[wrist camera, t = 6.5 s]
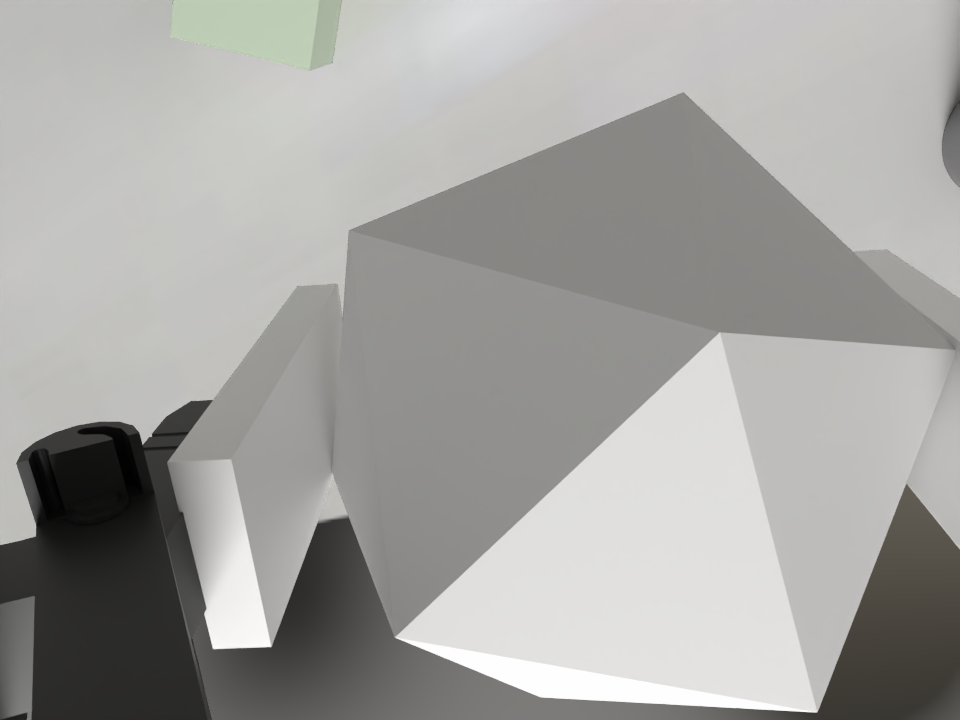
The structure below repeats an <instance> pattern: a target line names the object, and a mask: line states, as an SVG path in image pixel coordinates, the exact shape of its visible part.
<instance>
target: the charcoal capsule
mask: <svg viewBox="0 0 960 720" xmlns="http://www.w3.org/2000/svg"><path fill="white" fill-rule="evenodd" d="M942 156H943V161H944V165H945V168H946V170H947V172H948V174H949V176H950V177H951V179H952V180H953V181H954V182H955V184H956V185H958V186H959V187H960V102H959V103H958V104H957V106H956V107H955V108H954V110H953V112H952V114H951V115H950V117H949V120H948V122H947V124H946V127H945V130H944V134H943V140H942Z"/></svg>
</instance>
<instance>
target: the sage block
mask: <svg viewBox="0 0 960 720" xmlns="http://www.w3.org/2000/svg"><path fill="white" fill-rule="evenodd" d="M341 3H342V0H173V10H172V23H171V36H170V37H172V38H176V39H180V40H185V41H189V42H193V43H197V44H201V45H205V46H210V47H214V48H218V49H222V50H226V51H230V52H234V53H239V54H243V55H247V56H251V57H255V58H259V59H264V60H268V61H272V62H276V63H280V64H284V65H288V66H293V67H297V68H301V69H305V70H309V71H310V70H313V69H316V68H319V67H322V66H325V65H328V64H331V63H333V56H334V49H335V43H336V36H337V29H338V23H339V16H340V9H341Z"/></svg>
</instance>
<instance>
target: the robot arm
mask: <svg viewBox="0 0 960 720" xmlns="http://www.w3.org/2000/svg"><path fill="white" fill-rule="evenodd" d="M854 253H855V254H856V255H857V256H858V257H859V258H860V259H861V260H862V261H863V262H864V263H865V264H867V265H868V266H869V267H870V268H871V269H872V270H873V271H874V272H875V273H876V274H877V275H878V276H879V277H880V278H881V279H883V280H884V281H885V282H886V283H887V284H888V285H889V286H890V287H891V288H892V289H893V290H894V291H895V292H896V293H897V294H898V295H900V296H901V297H902V298H903V299H904V300H905V301H906V302H907V303H908V304H909V305H910V306H911V307H912V308H913V309H914V310H915V311H917V312H918V313H919V314H920V315H921V316H922V317H923V318H924V319H925V320H926V321H927V322H928V323H929V324H930V325H931V326H933V327H934V328H935V329H936V330H937V331H938V332H939V333H940V334H941V335H942V336H943V337H944V338H945V339H946V340H947V341H948V342H950V343H951V344H952V345H953V346H954V348H955V350H956V353H955V358H954V361H953V363H952V366H951V369H950V371H949V374H948V376H947V379H946V382H945V384H944V387H943V389H942V392H941V394H940V397H939V400H938V402H937V405H936V407H935V410H934V413H933V415H932V418H931V420H930V423H929V425H928V428H927V431H926V433H925V436H924V438H923V441H922V443H921V446H920V449H919V451H918V454H917V456H916V459H915V462H914V464H913V467H912V469H911V472H910V474H909V477H908V480H907V482H906V484H907V485H908V486H909V487H910V488H911V490H912V491H913V492H914V493H915V495H916V496H917V497H918V498H919V499H920V501H921V502H922V503H923V504H924V505H925V507H926V508H927V509H928V510H929V512H930V513H931V514H932V516H933V517H934V518H935V519H936V520H937V522H938V523H939V524H940V525H941V527H942V528H943V529H944V530H945V531H946V533H947V534H948V535H949V536H950V538H951V539H952V540H953V541H954V543H955V544H956V545H957V546H958V548H959V549H960V298H958V297H957V296H955V295H954V294H952V293H951V292H949V291H948V290H946V289H945V288H943V287H942V286H940V285H939V284H937V283H936V282H934V281H933V280H931V279H930V278H928V277H927V276H925V275H924V274H923V273H921V272H920V271H918V270H917V269H915V268H914V267H912V266H911V265H909V264H908V263H906V262H905V261H903V260H902V259H900V258H899V257H897V256H896V255H894V254H893V253H891V252H890V251H888V250H887V249H886V250H870V251H854ZM342 320H343V317H342V311H341V304H340V297H339V290H338V284H327V285H312V286H297V288H296V289H295V290H294V292H293V293H292V294H291V296H290V297H289V298H288V300H287V301H286V302H285V304H284V305H283V306H282V308H281V309H280V311H279V312H278V313H277V315H276V316H275V317H274V319H273V320H272V321H271V323H270V324H269V325H268V327H267V328H266V329H265V331H264V332H263V334H262V335H261V336H260V338H259V339H258V340H257V342H256V343H255V344H254V346H253V347H252V348H251V350H250V351H249V352H248V354H247V355H246V356H245V358H244V359H243V361H242V362H241V363H240V365H239V366H238V367H237V369H236V370H235V371H234V373H233V374H232V375H231V377H230V378H229V379H228V381H227V382H226V383H225V385H224V386H223V388H222V389H221V390H220V392H219V393H218V394H217V396H216V397H215V398H214V400H207V401H191V402H189V403H188V404H186V405H184V406H183V407H181V408H180V409H178V410H176V411H175V412H173V413H172V414H170V415H168V416H167V417H166V418H165V419H164V420H163V421H162V422H161V424H160V425H159V426H158V427H157V429H156V430H155V431H154V432H153V433H152V437H149V438H148V439H147V441H146V442H145V443H144V444H143V445H142V442H141V438H140V434H139V432H138V431H137V430H136V428H135V427H134V426H133V425H129V424H125V423H122V422H96V423H90V424H84V425H78V426H75V427H71V428H68V429H65V430H62V431H58V432H55V433H53V434H51V435H49V436H47V437H45V438H43V439H41V440H39V441H37V442H35V443H34V444H32V445H31V446H30V447H28V448H27V449H26V450H25V451H23V452H22V453H21V455H20V457H19V459H18V461H17V463H16V464H17V467H18V470H19V473H20V476H21V479H22V482H23V485H24V488H25V491H26V495H27V498H28V501H29V504H30V507H31V510H32V513H33V516H34V519H35V522H36V537H33V538H29V539H26V540H22V541H18V542H13V543H9V544H4V545H0V720H26V719H27V713H28V712H31V711H32V720H212V717H211V713H210V709H209V705H208V701H207V697H206V692H205V688H204V684H203V680H202V675H201V671H200V667H199V663H198V659H197V655H196V651H195V648H194V644H193V640H192V637H193V635H194V633H195V631H196V629H197V627H198V625H199V623H200V621H201V618H202V617H203V615H204V614H205V618H206V622H207V626H208V630H209V634H210V638H211V642H212V646H213V649H225V648H251V647H271V646H272V644H273V641H274V638H275V636H276V633H277V630H278V627H279V625H280V622H281V619H282V617H283V614H284V611H285V609H286V606H287V603H288V600H289V598H290V595H291V592H292V590H293V587H294V584H295V582H296V579H297V576H298V573H299V571H300V568H301V565H302V563H303V560H304V557H305V554H306V551H307V549H308V546H309V544H310V541H311V538H312V535H313V533H314V530H315V527H316V525H317V522H318V519H319V517H320V514H321V511H322V508H323V506H324V503H325V500H326V498H327V495H328V492H329V489H330V487H331V484H332V481H333V479H334V476H333V474H332V459H333V445H334V431H335V417H336V403H337V389H338V375H339V362H340V348H341V334H342Z"/></svg>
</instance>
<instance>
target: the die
mask: <svg viewBox="0 0 960 720" xmlns="http://www.w3.org/2000/svg"><path fill="white" fill-rule="evenodd" d="M955 353H956V350H955V348H954V346H953V345H952V344H951V343H950V342H948V341H947V340H946V339H945V338H944V337H943V336H942V335H941V334H940V333H939V332H938V331H937V330H936V329H935V328H934V327H933V326H931V325H930V324H929V323H928V322H927V321H926V320H925V319H924V318H923V317H922V316H921V315H920V314H919V313H918V312H917V311H915V310H914V309H913V308H912V307H911V306H910V305H909V304H908V303H907V302H906V301H905V300H904V299H903V298H902V297H901V296H900V295H898V294H897V293H896V292H895V291H894V290H893V289H892V288H891V287H890V286H889V285H888V284H887V283H886V282H885V281H884V280H883V279H881V278H880V277H879V276H878V275H877V274H876V273H875V272H874V271H873V270H872V269H871V268H870V267H869V266H868V265H867V264H865V263H864V262H863V261H862V260H861V259H860V258H859V257H858V256H857V255H856V254H855V253H854V252H853V251H852V250H851V249H850V248H848V247H847V246H846V245H845V244H844V243H843V242H842V241H841V240H840V239H839V238H838V237H837V236H836V235H835V234H834V233H833V232H831V231H830V230H829V229H828V228H827V227H826V226H825V225H824V224H823V223H822V222H821V221H820V220H819V219H818V218H817V217H815V216H814V215H813V214H812V213H811V212H810V211H809V210H808V209H807V208H806V207H805V206H804V205H803V204H802V203H801V202H800V201H798V200H797V199H796V198H795V197H794V196H793V195H792V194H791V193H790V192H789V191H788V190H787V189H786V188H785V187H784V186H783V185H781V184H780V183H779V182H778V181H777V180H776V179H775V178H774V177H773V176H772V175H771V174H770V173H769V172H768V171H767V170H765V169H764V168H763V167H762V166H761V165H760V164H759V163H758V162H757V161H756V160H755V159H754V158H753V157H752V156H751V155H750V154H748V153H747V152H746V151H745V150H744V149H743V148H742V147H741V146H740V145H739V144H738V143H737V142H736V141H735V140H734V139H733V138H731V137H730V136H729V135H728V134H727V133H726V132H725V131H724V130H723V129H722V128H721V127H720V126H719V125H718V124H717V123H715V122H714V121H713V120H712V119H711V118H710V117H709V116H708V115H707V114H706V113H705V112H704V111H703V110H702V109H701V108H700V107H698V106H697V105H696V104H695V103H694V102H693V101H692V100H691V99H690V98H689V97H688V96H687V95H686V94H685V93H684V92H683V93H681V94H678V95H676V96H674V97H671V98H669V99H666V100H664V101H661V102H659V103H657V104H654V105H652V106H649V107H647V108H644V109H642V110H640V111H637V112H635V113H632V114H630V115H627V116H625V117H623V118H620V119H618V120H615V121H613V122H610V123H608V124H606V125H603V126H601V127H598V128H596V129H594V130H591V131H589V132H586V133H584V134H581V135H579V136H577V137H574V138H572V139H569V140H567V141H564V142H562V143H560V144H557V145H555V146H552V147H550V148H547V149H545V150H543V151H540V152H538V153H535V154H533V155H531V156H528V157H526V158H523V159H521V160H518V161H516V162H514V163H511V164H509V165H506V166H504V167H501V168H499V169H497V170H494V171H492V172H489V173H487V174H484V175H482V176H480V177H477V178H475V179H472V180H470V181H468V182H465V183H463V184H460V185H458V186H455V187H453V188H451V189H448V190H446V191H443V192H441V193H438V194H436V195H434V196H431V197H429V198H426V199H424V200H421V201H419V202H417V203H414V204H412V205H409V206H407V207H405V208H402V209H400V210H397V211H395V212H392V213H390V214H388V215H385V216H383V217H380V218H378V219H375V220H373V221H371V222H368V223H366V224H363V225H361V226H358V227H356V228H354V229H351V230H349V236H348V250H347V264H346V278H345V292H344V306H343V320H342V334H341V348H340V362H339V375H338V389H337V403H336V417H335V431H334V445H333V459H332V474H333V476H334V479H335V482H336V484H337V487H338V490H339V492H340V495H341V497H342V500H343V503H344V505H345V508H346V511H347V513H348V516H349V518H350V521H351V524H352V526H353V529H354V531H355V534H356V537H357V539H358V542H359V545H360V547H361V550H362V552H363V555H364V557H365V560H366V563H367V565H368V568H369V571H370V573H371V576H372V578H373V581H374V584H375V586H376V589H377V592H378V594H379V597H380V599H381V602H382V605H383V607H384V610H385V613H386V615H387V618H388V621H389V623H390V626H391V628H392V631H393V634H394V636H395V638H398V639H400V640H402V641H405V642H407V643H410V644H412V645H415V646H417V647H420V648H422V649H424V650H427V651H429V652H432V653H434V654H437V655H439V656H441V657H444V658H446V659H449V660H451V661H454V662H456V663H459V664H461V665H463V666H466V667H468V668H471V669H473V670H476V671H478V672H480V673H483V674H485V675H488V676H490V677H493V678H495V679H497V680H500V681H502V682H505V683H507V684H510V685H512V686H515V687H517V688H519V689H522V690H524V691H527V692H529V693H532V694H534V695H537V696H539V697H547V698H564V699H565V698H566V699H583V700H601V701H619V702H639V703H656V704H673V705H693V706H710V707H728V708H746V709H748V708H749V709H765V710H784V711H802V712H818V709H819V706H820V704H821V702H822V699H823V696H824V694H825V691H826V689H827V686H828V683H829V681H830V678H831V676H832V673H833V671H834V668H835V665H836V663H837V660H838V657H839V655H840V653H841V650H842V647H843V644H844V642H845V639H846V637H847V634H848V632H849V629H850V627H851V624H852V622H853V619H854V616H855V614H856V611H857V609H858V606H859V604H860V601H861V598H862V596H863V593H864V591H865V588H866V585H867V583H868V580H869V577H870V575H871V572H872V570H873V567H874V565H875V562H876V560H877V557H878V554H879V552H880V549H881V547H882V544H883V542H884V539H885V536H886V534H887V531H888V529H889V526H890V524H891V521H892V518H893V516H894V513H895V511H896V508H897V505H898V503H899V500H900V498H901V495H902V493H903V490H904V487H905V484H906V482H907V480H908V477H909V474H910V472H911V469H912V467H913V464H914V462H915V459H916V456H917V454H918V451H919V449H920V446H921V443H922V441H923V438H924V436H925V433H926V431H927V428H928V425H929V423H930V420H931V418H932V415H933V413H934V410H935V407H936V405H937V402H938V400H939V397H940V394H941V392H942V389H943V387H944V384H945V382H946V379H947V376H948V374H949V371H950V369H951V366H952V363H953V361H954V358H955Z"/></svg>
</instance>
